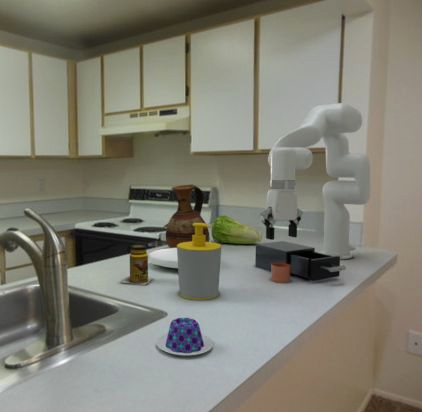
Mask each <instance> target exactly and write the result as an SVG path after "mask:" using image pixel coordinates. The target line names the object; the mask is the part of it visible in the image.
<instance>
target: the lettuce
mask: <svg viewBox="0 0 422 412" xmlns="http://www.w3.org/2000/svg"><path fill="white" fill-rule="evenodd" d="M211 237H212V240H214V241H216V243H218V244H234V245H235V244H237V245H248V244H258V243H261V242H262V238H263V232H262V231H259V230H257V229H255V228H253V227H251V226H249V225H247V224H243V223H242V222H240V221H238V220H235V219H234V218H231V217H230V216H228V215H226V214H225V215H219V216H217V217H216V219H214V221H213V223H212V225H211Z"/></svg>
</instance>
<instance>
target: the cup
mask: <svg viewBox="0 0 422 412" xmlns="http://www.w3.org/2000/svg"><path fill="white" fill-rule="evenodd" d="M290 269H291V265H289V264H286V263H273V264H271V271H270V280H271V282H275V283H280V284H281V283H282V284H287V283H290V282H291V275H290Z"/></svg>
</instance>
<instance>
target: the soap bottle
mask: <svg viewBox="0 0 422 412" xmlns="http://www.w3.org/2000/svg"><path fill="white" fill-rule="evenodd" d="M205 223H206V222H205ZM205 223H194V224H193V226H195V235H192V242H183V243H179V244H178V245H177V257H178V268H177V274H178V286H179V287H178V289H179V291H178V292H179V296H180V297H183V298H185V299H188V300H196V301H206V300H213V299H215V298H217V297H218V296H219V290H220V289H219V287H220V276H221V275H220V274H221V260H222V259H221V258H222V245H221V243H218V242H211V241H209V242H206V236H205V235H203V227H207V228H208V229H212V225H210V224H208V223H206V224H205Z"/></svg>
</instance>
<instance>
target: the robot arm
mask: <svg viewBox="0 0 422 412" xmlns="http://www.w3.org/2000/svg"><path fill="white" fill-rule="evenodd" d="M362 125H363V116H362V114H361V111H360V110H358V108H356V107H354V106H352V105H350V104H348V103H344V102H337V103H328V104H320V105H316V106H314V107H312V108H311V109H310V110H309V111H308V113H307V115H306V116H305V118H304V119H303V121H302V122H301V123H300V125H299V127H297V128H295V129H293V130H292V131H290V132H288V133H286V134H285V135H283V136H281V137H280V138H279V139H278V140H276V142H275V143H274V144H273V146H272V148H271V149H270V151H269V153H268V157H267V163H268V165H269V167H270V189H268V191H267V195H266V200H265V209H264V211H262V212H261V213H260V214H259V217H260V220H261V223H262V224H263V225H264V227H265V239H266V240H270V241H271V240H272V241H273V240H275V227H274V226H275V224H276V222H286V221H288V223H289V224H288V230H287V231H288V237H291V238H297V237H298V226H299V225H300V222H301V221H302V217H303V214H304V211H303V210H302V209H299V208H298V197H297V190H296V186H297V182H296V171H305V170H307V169H308V168H310V167H311V165H312V164H313V161H314V155H313V153H312V150H310V149H309V147H311V146H312V147H313V146H315V145H316V144H318V143H319V142H320V141H321V140H323V142H324V147H325V148H324V149H325V150H324V151H325V171H326V174H327V175H328V177H331V178H353V179H354V180H347V179H346V180H343V179H341V180H339V179H338V180H337V179H335V180H328V181H327V182H325V184H324V185H323V187H322V199H323V204H324V205H323V208H324V210H323V211H324V213H323V215H324V218H323V247H322V248H323V249H322V250H321V251H319V252H318V253H322V254H326V255H331V256H340V260H349V259H352V258H353V254H352V253H351V251H355V250H356V248H357V247H356V246H355V245H350V222H351V221H350V219H351V217H350V215H351V214H350V212H349V210H348V209H347V207H346V206H345V205H354V206H355V205H360V206H362V205H366V204H368V202H369V201H370V199H371V161H370V159H369V156H367V155H366V154H364V153H360V152H359V153H357V152H356V153H355V152H354V153H350V149H349V148H350V147H349V145H350V143H349V139H348V137H347V136H346V135H345V134H351V133H356V132H358V131H359V130H360V129H361V127H362Z"/></svg>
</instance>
